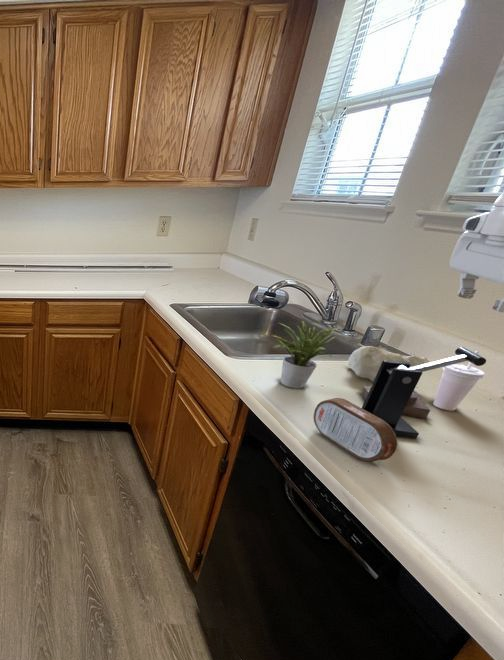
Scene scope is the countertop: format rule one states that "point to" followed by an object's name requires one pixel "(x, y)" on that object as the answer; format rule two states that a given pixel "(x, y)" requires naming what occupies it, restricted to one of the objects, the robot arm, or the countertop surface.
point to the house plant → (301, 356)
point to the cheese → (378, 360)
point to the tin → (355, 429)
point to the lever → (447, 361)
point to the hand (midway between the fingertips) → (481, 304)
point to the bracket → (393, 396)
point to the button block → (408, 404)
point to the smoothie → (456, 384)
